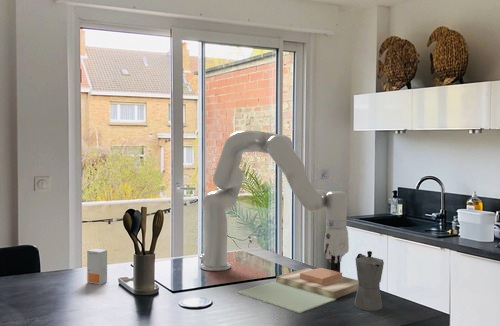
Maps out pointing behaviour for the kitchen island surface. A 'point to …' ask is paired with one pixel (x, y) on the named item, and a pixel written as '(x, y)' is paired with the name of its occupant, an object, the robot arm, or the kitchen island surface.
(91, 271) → the skincare box
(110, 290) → the kitchen island surface
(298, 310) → the sage mat
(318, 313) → the kitchen island surface
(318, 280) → the terracotta tile
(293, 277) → the board
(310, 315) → the kitchen island surface
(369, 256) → the coffeepot
